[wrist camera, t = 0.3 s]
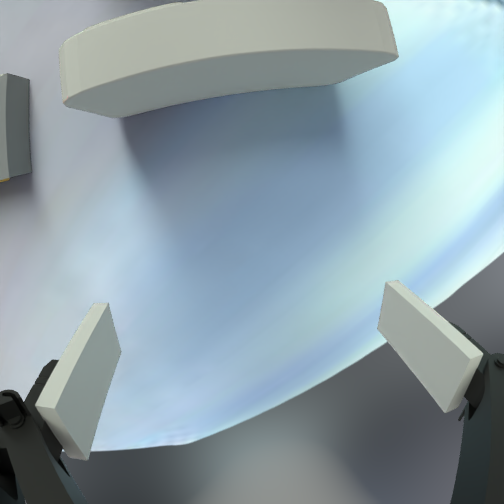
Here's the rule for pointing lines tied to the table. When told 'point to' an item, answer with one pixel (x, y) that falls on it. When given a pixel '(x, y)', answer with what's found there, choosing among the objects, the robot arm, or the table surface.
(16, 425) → the robot arm
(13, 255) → the table surface
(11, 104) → the switch unit
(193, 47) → the rounded white slab
